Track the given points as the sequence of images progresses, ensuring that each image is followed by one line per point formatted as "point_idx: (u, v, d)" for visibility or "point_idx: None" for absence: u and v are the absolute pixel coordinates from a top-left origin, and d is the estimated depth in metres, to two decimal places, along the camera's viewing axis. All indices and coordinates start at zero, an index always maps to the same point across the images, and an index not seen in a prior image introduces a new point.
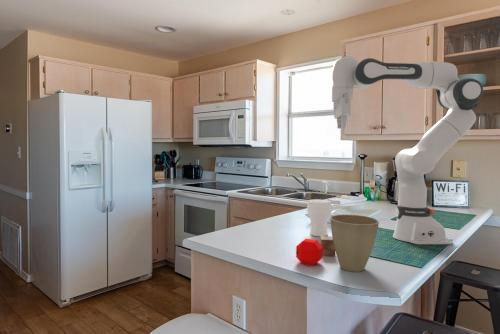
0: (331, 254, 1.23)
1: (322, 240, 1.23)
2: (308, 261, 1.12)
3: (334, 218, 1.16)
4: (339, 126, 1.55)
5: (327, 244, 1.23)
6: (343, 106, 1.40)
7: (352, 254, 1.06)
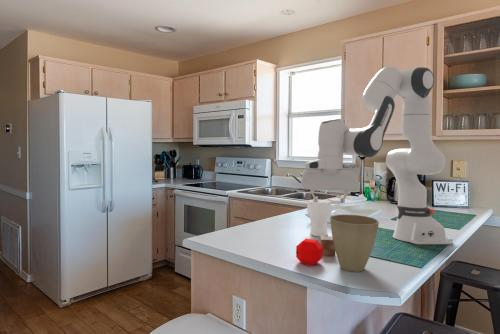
0: (331, 254, 1.23)
1: (322, 240, 1.23)
2: (308, 261, 1.12)
3: (334, 218, 1.16)
4: None
5: (327, 244, 1.23)
6: (358, 181, 1.22)
7: (352, 254, 1.06)
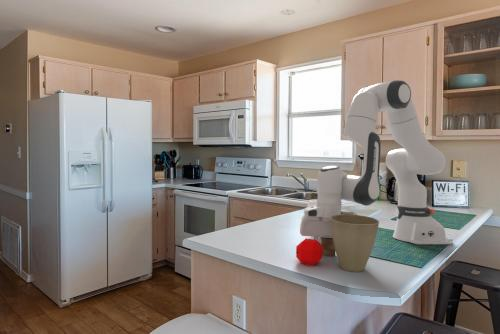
0: (331, 253, 1.23)
1: (322, 240, 1.23)
2: (308, 261, 1.12)
3: (334, 218, 1.16)
4: None
5: (327, 244, 1.23)
6: None
7: (352, 254, 1.06)
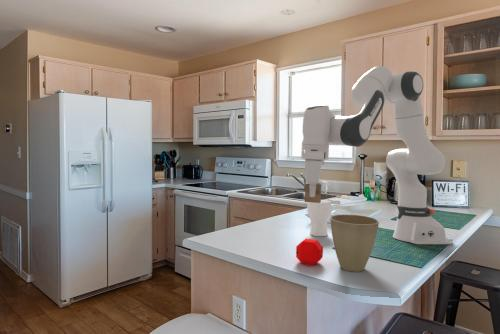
0: (320, 198, 1.16)
1: (320, 185, 1.13)
2: (308, 261, 1.12)
3: (334, 218, 1.16)
4: None
5: None
6: None
7: (352, 254, 1.06)
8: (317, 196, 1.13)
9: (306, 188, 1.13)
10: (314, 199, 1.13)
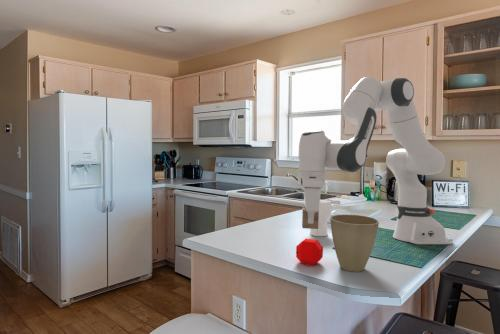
0: None
1: (318, 211, 1.12)
2: (308, 261, 1.12)
3: (334, 218, 1.16)
4: None
5: None
6: None
7: (352, 254, 1.06)
8: (315, 222, 1.12)
9: (304, 214, 1.13)
10: (312, 225, 1.13)
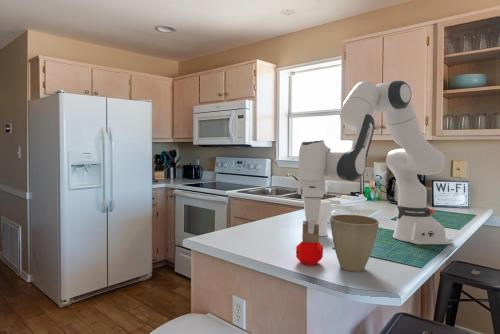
0: None
1: (318, 225, 1.13)
2: (308, 261, 1.12)
3: (334, 218, 1.16)
4: None
5: None
6: None
7: (352, 254, 1.06)
8: (315, 236, 1.13)
9: (304, 228, 1.13)
10: (312, 239, 1.13)
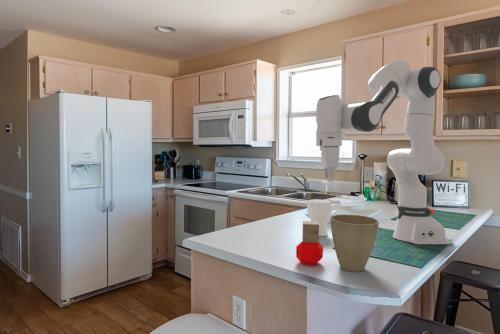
0: None
1: (318, 225, 1.13)
2: (308, 261, 1.12)
3: (334, 218, 1.16)
4: None
5: None
6: None
7: (352, 254, 1.06)
8: (316, 236, 1.13)
9: (304, 228, 1.13)
10: (312, 239, 1.13)
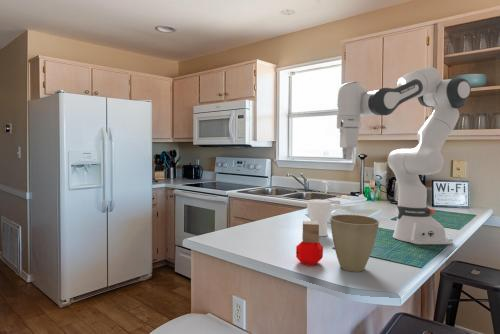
0: None
1: (318, 225, 1.13)
2: (308, 261, 1.12)
3: (334, 218, 1.16)
4: None
5: None
6: None
7: (352, 254, 1.06)
8: (316, 236, 1.13)
9: (304, 228, 1.13)
10: (312, 239, 1.13)
